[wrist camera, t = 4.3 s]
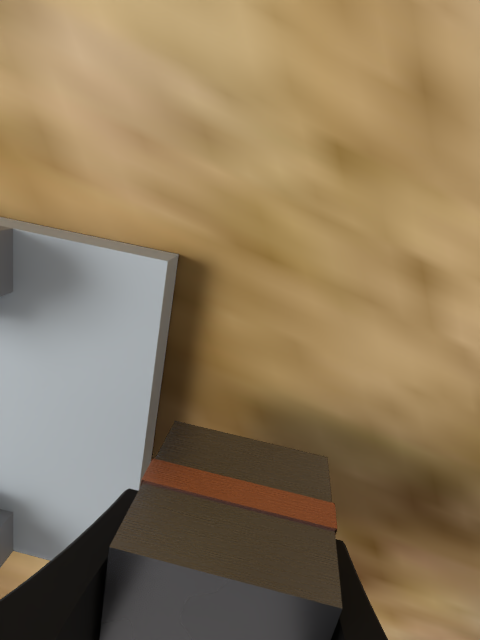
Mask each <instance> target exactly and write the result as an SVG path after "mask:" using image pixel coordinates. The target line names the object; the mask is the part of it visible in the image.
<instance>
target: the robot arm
mask: <svg viewBox="0 0 480 640" xmlns="http://www.w3.org/2000/svg"><path fill="white" fill-rule="evenodd" d="M137 493H138V490H134V489H130V488H129V489H127V490H125V491H124V492H123V493H122V494H121V495H120V496H119V498H118V499H117V500H116V501H115V502H114V503H113V504H112V505H111V506H110V507H109V508H108V509H107V510H106V511H105V512H104V513H103V514H102V515H101V516H100V517H99V518H98V519H97V520H96V521H95V522H94V523H93V524H92V525H91V526H90V527H88V528H87V529H86V530H85V531H84V532H83V533H82V534H81V535H80V536H79V537H78V538H76V539H75V540H74V541H73V542H72V543H71V544H70V545H69V546H68V547H67V548H65V549H64V550H63V551H62V552H61V553H59V554H58V555H57V556H56V557H55V558H53V559H52V560H51V561H50V562H49V563H47V564H46V565H45V566H44V567H43V568H41V569H40V570H39V571H38V572H37V573H35V574H34V575H33V576H31V577H30V578H29V579H28V580H26V581H25V582H24V583H22V584H21V585H20V586H18V587H17V588H16V589H14V590H13V591H12V592H10V593H9V594H7V595H6V596H5V597H3V598H2V599H1V600H0V640H99V639H100V629H101V620H102V610H103V601H104V591H105V582H106V573H107V563H108V554H109V546H110V544H111V543H112V541H113V539H114V537H115V535H116V533H117V531H118V529H119V527H120V525H121V523H122V521H123V520H124V518H125V516H126V514H127V512H128V510H129V508H130V506H131V504H132V502H133V500H134V499H135V497H136V495H137ZM336 549H337V559H338V569H339V579H340V589H341V599H342V611H341V614H340V617H339V619H338V622H337V625H336V627H335V630H334V633H333V635H332V638H331V640H388V639H387V637H386V635H385V633H384V631H383V629H382V627H381V625H380V622H379V620H378V618H377V616H376V614H375V612H374V610H373V608H372V606H371V604H370V602H369V600H368V597H367V595H366V593H365V591H364V589H363V586H362V584H361V582H360V580H359V577H358V575H357V573H356V570H355V568H354V565H353V563H352V561H351V558H350V556H349V553H348V551H347V548H346V546H345V544H344V542H343V541H341V540H337V539H336Z"/></svg>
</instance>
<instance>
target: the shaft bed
mask: <svg viewBox="0 0 480 640" xmlns="http://www.w3.org/2000/svg"><path fill="white" fill-rule="evenodd" d="M178 257H179V254H175V253H170V252H165V251H160V250H156V249H151V248H146V247H141V246H137V245H132V244H127V243H122V242H118V241H113V240H108V239H103V238H99V237H94V236H89V235H84V234H80V233H75V232H70V231H65V230H61V229H56V228H51V227H46V226H42V225H37V224H32V223H27V222H23V221H18V220H13V219H8V218H4V217H0V567H1V566H2V565H3V563H4V562H5V561H6V559H7V558H8V557H9V556H10V554H11V553H12V552H13V551H16V552H20V553H24V554H28V555H31V556H35V557H39V558H43V559H47V560H50V561H51V560H52V559H53V558H55V557H56V556H57V555H58V554H59V553H61V552H62V551H63V550H64V549H65V548H67V547H68V546H69V545H70V544H71V543H72V542H73V541H74V540H75V539H76V538H78V537H79V536H80V535H81V534H82V533H83V532H84V531H85V530H86V529H87V528H88V527H90V526H91V525H92V524H93V523H94V522H95V521H96V520H97V519H98V518H99V517H100V516H101V515H102V514H103V513H104V512H105V511H106V510H107V509H108V508H109V507H110V506H111V505H112V504H113V503H114V502H115V501H116V500H117V499H118V498H119V496H120V495H121V494H122V493H123V492H124V491H125V490H127V489H129V488H130V489H134V490H138V491H139V489H140V486H141V479H142V477H143V476H144V474H145V472H146V470H147V468H148V466H149V464H150V462H151V457H152V450H153V442H154V435H155V428H156V420H157V413H158V405H159V398H160V390H161V383H162V376H163V368H164V361H165V353H166V346H167V338H168V331H169V324H170V316H171V309H172V301H173V294H174V286H175V279H176V272H177V264H178Z"/></svg>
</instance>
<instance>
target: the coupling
mask: <svg viewBox="0 0 480 640" xmlns="http://www.w3.org/2000/svg"><path fill="white" fill-rule="evenodd" d="M336 532H337V521H336V511H335V503H332V499H331V489H330V479H329V469H328V459H327V457H324V456H319V455H315V454H311V453H307V452H303V451H299V450H295V449H290V448H286V447H282V446H278V445H274V444H270V443H265V442H261V441H257V440H253V439H249V438H245V437H240V436H236V435H232V434H228V433H224V432H220V431H216V430H211V429H207V428H203V427H199V426H195V425H191V424H186V423H182V422H178V421H175V422H174V424H173V426H172V428H171V430H170V432H169V433H168V435H167V437H166V439H165V441H164V443H163V445H162V447H161V449H160V451H159V453H158V454H157V456H156V458H155V459H154V458H153V459H152V461H151V462H150V464H149V466H148V468H147V470H146V472H145V474H144V476H143V477H142V479H141V486H140V489H139V491H138V493H137V495H136V497H135V499H134V500H133V502H132V504H131V506H130V508H129V510H128V512H127V514H126V516H125V518H124V520H123V521H122V523H121V525H120V527H119V529H118V531H117V533H116V535H115V537H114V539H113V541H112V543H111V544H110V546H109V554H108V563H107V573H106V582H105V591H104V601H103V610H102V620H101V629H100V639H99V640H331V638H332V635H333V633H334V630H335V627H336V625H337V622H338V619H339V617H340V614H341V611H342V599H341V589H340V579H339V569H338V559H337V549H336V539H335V535H336Z"/></svg>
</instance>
